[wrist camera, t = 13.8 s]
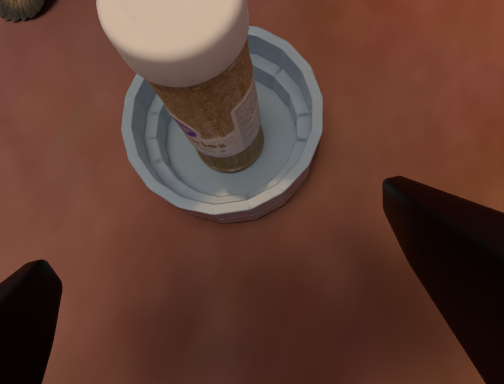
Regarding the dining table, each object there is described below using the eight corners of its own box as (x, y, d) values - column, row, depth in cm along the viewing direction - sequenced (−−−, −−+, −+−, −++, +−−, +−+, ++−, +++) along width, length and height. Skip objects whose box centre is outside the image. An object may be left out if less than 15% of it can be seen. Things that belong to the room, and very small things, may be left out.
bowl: (340, 94, 24) (352, 56, 20) (277, 251, 23) (276, 248, 18) (191, 44, 26) (173, -1, 22) (123, 187, 24) (87, 169, 20)
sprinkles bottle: (185, 158, 24) (62, 25, 10) (215, 98, 24) (134, -97, 11) (248, 185, 23) (200, 78, 10) (277, 123, 24) (269, -55, 10)
